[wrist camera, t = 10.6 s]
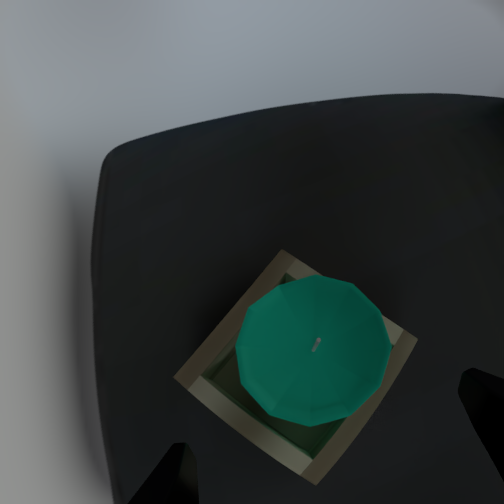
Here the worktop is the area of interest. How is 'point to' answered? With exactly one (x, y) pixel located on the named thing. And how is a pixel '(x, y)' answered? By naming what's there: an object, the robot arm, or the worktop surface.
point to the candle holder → (247, 408)
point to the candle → (312, 350)
